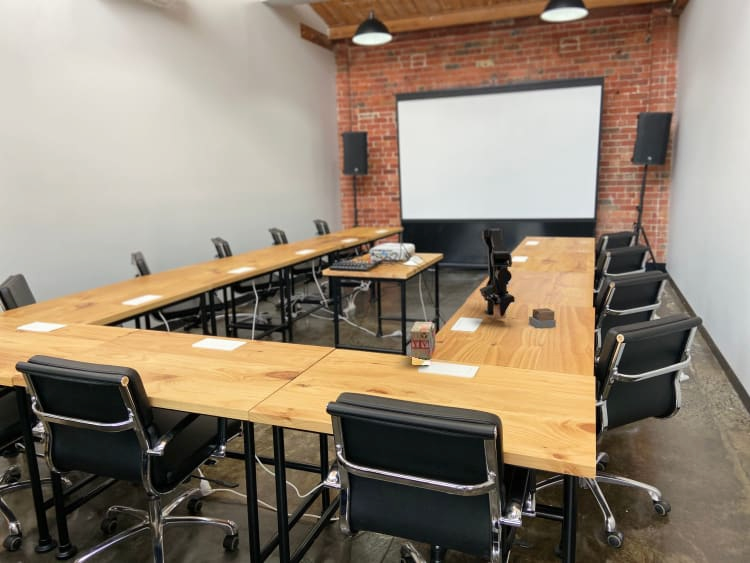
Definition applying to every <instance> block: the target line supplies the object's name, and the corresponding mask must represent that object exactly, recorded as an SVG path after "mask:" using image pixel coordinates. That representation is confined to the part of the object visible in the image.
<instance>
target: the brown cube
mask: <svg viewBox="0 0 750 563" xmlns="http://www.w3.org/2000/svg"><path fill="white" fill-rule="evenodd" d="M492 315H493V318H495V319H499V320H501V319H506V318H507V311H506V312H505V314H504V316H501V315H500V308H499V304H497V305H494V314H492Z"/></svg>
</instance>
